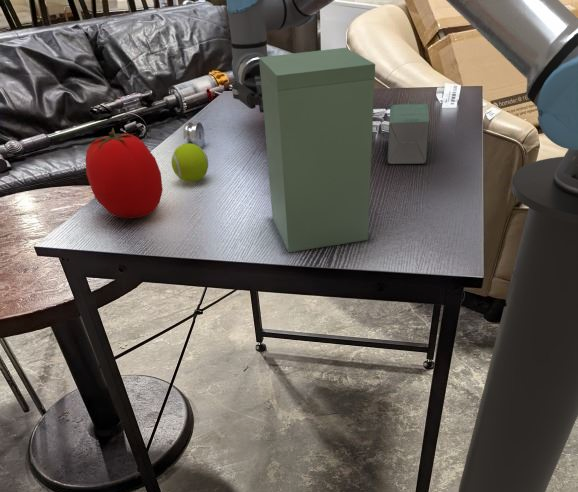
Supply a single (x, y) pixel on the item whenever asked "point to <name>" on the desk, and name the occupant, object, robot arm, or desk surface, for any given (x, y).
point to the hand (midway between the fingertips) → (282, 108)
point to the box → (408, 134)
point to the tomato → (124, 175)
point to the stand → (319, 145)
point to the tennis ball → (189, 162)
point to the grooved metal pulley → (194, 133)
